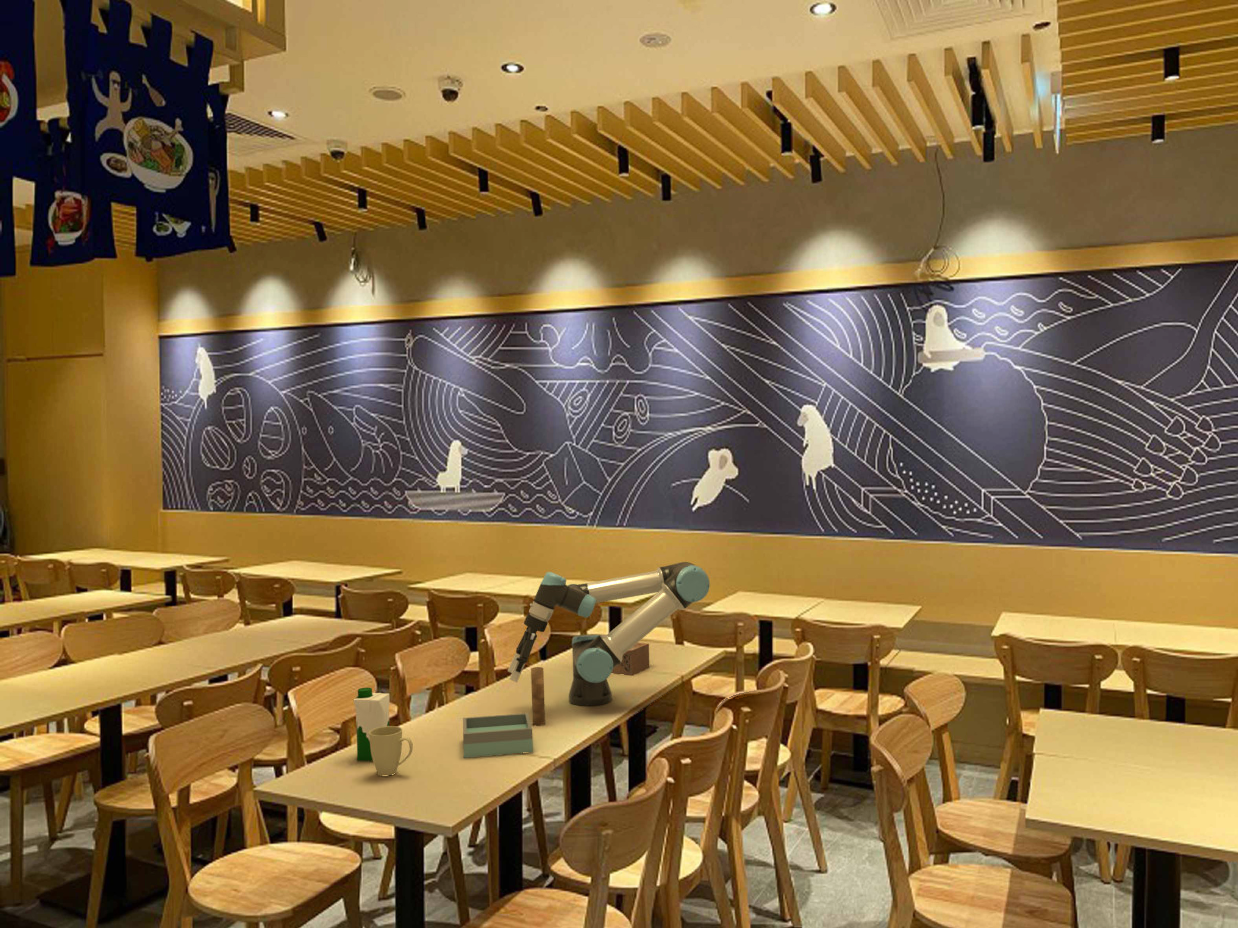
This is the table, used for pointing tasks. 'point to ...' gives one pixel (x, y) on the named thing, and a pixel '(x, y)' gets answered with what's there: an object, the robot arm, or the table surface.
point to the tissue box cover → (634, 660)
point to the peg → (538, 696)
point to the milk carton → (369, 718)
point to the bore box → (497, 735)
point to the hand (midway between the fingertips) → (512, 676)
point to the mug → (387, 748)
